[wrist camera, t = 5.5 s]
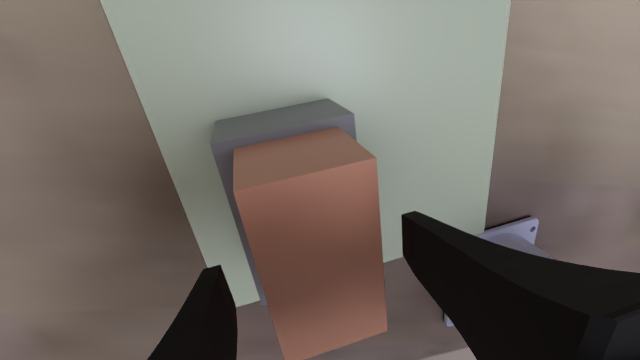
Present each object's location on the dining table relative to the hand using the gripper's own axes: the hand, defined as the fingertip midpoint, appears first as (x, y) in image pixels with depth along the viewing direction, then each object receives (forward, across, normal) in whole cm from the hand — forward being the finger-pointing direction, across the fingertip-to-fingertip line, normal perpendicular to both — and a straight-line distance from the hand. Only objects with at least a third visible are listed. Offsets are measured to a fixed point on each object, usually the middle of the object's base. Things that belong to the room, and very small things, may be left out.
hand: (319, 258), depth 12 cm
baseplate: (+7, -4, -3) cm, 9 cm away
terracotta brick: (+3, 0, 0) cm, 3 cm away
